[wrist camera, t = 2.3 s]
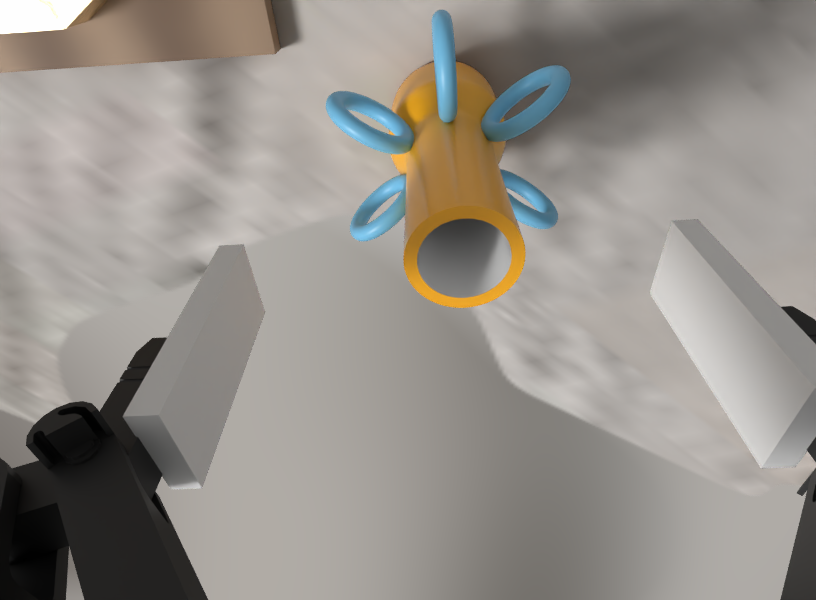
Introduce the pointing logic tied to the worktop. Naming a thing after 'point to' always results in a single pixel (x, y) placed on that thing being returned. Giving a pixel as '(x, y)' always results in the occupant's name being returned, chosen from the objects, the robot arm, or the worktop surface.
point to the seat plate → (147, 35)
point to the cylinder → (453, 172)
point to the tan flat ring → (45, 14)
